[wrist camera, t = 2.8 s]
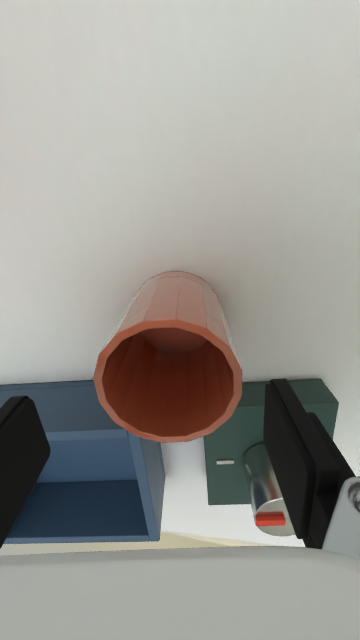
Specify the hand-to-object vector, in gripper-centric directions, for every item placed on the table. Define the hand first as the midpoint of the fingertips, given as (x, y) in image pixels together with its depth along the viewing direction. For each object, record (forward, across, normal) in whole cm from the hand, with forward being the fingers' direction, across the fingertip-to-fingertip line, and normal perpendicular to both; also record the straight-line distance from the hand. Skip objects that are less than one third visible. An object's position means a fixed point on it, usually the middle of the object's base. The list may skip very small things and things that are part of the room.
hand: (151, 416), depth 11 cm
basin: (+11, +9, +11) cm, 18 cm away
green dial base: (+11, -7, +12) cm, 18 cm away
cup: (+11, -1, 0) cm, 11 cm away
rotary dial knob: (+8, -7, +12) cm, 16 cm away
